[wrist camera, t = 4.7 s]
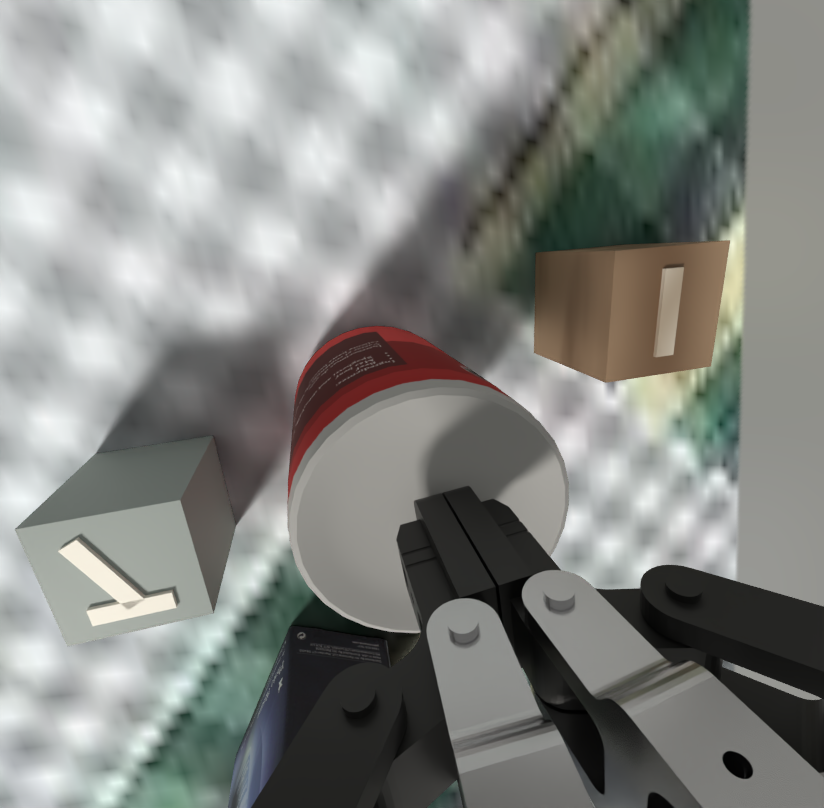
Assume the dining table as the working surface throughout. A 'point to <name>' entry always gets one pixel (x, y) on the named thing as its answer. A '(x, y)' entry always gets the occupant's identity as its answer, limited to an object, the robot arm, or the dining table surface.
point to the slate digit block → (133, 540)
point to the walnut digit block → (629, 307)
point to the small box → (294, 700)
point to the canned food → (402, 464)
